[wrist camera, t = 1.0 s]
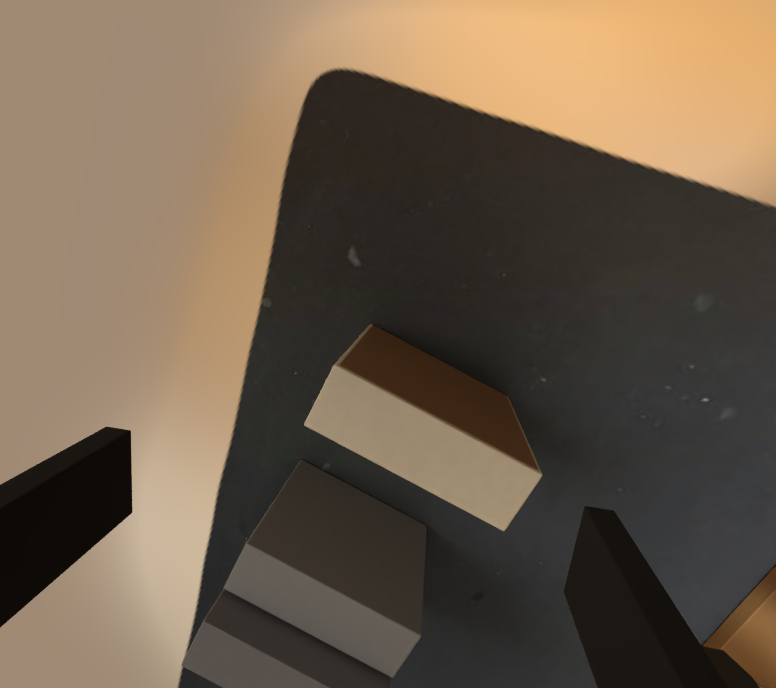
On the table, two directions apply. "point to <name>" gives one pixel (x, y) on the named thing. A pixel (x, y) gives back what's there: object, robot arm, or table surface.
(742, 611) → the shelf board
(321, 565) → the grey books
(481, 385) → the cream book
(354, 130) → the table surface
